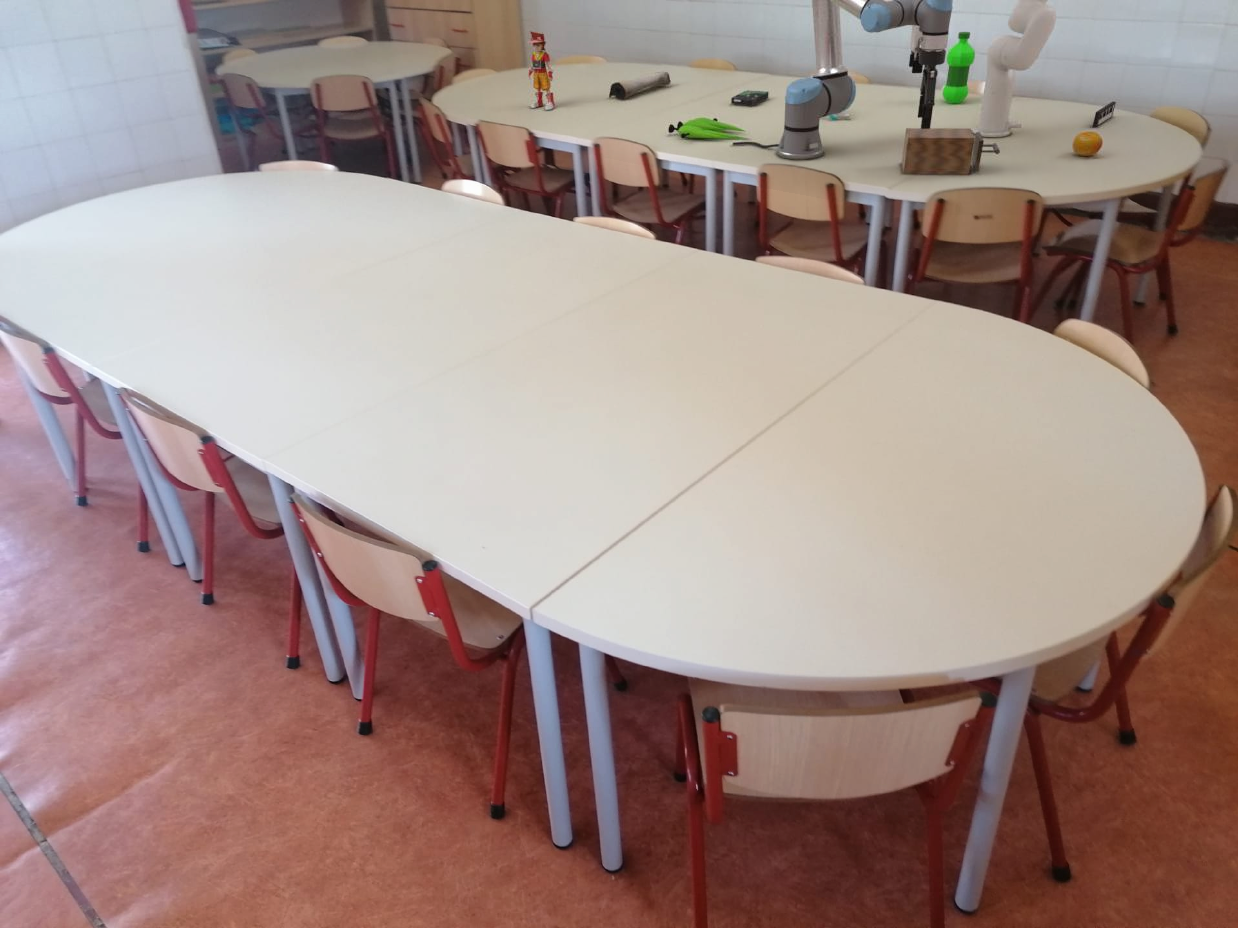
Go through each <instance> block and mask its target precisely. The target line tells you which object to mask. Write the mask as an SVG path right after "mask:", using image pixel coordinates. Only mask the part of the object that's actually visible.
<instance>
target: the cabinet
mask: <svg viewBox="0 0 1238 928" xmlns="http://www.w3.org/2000/svg"><path fill="white" fill-rule="evenodd" d="M972 131H973V130H972V128H971V127H970V128H969V127H968V128H966V127H965V128H963V127H962V128H961V127H959V128H955V127H954V128H953V127H948V128H947V127H946V128H945V127H944V128H941V127H939V128H938V127H935V128H933V127H932V128H931V127H930V129H921V127H919V128H916V127H915V128H911V127H910V128H909V127H908V128H907V127H906V128H905V134H904V142H903V150H902V156H901V157H902V158H901V169H902V173H903V174H904V175H969V174H970V169H971V164H972V163H971V158H972V153H973V147H974V146H973V145H974V141H975V134H974V133H973V132H972Z"/></svg>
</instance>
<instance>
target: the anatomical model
mask: <svg viewBox="0 0 1238 928" xmlns="http://www.w3.org/2000/svg"><path fill="white" fill-rule="evenodd" d="M828 117H829V119H831V120H832V121H835V120H838V119H848V118H850V117H851V114H850V113H845V111H842V112H841V113H839V114H833V115H829V116H828Z"/></svg>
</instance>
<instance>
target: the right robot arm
mask: <svg viewBox="0 0 1238 928" xmlns="http://www.w3.org/2000/svg"><path fill="white" fill-rule="evenodd" d="M1048 1H1049V0H1017V2H1016V4H1015V5H1014V8H1013V9H1012V11H1011V13H1010V15H1009V17H1008V21H1007V25H1008V29H1010V30H1011V31H1012V32H1013V33H1018V34H1021V37H1020V36H1015V35H1011V34H1002V35H998V36H996V37H995V38H994V39H992V41H991V42H990V44H989V45H988V48H987V53H986V76H985V81H984V82H985V83H984V88H983V96H982V100H981V106H980V110H979V111H980V112H979V117H978V123H977V126H974V127H973V128H972V130H971V131H972V133H973V135H976V132H980V133H981V136H982V137H983V138H984V137H986V138H1002V137H1007V136H1009V135H1010V134H1011V130H1012V129H1021V128H1022V123H1023V122H1022V121H1021V122H1020V121H1019V122H1017V121H1015V120H1013V121H1010V119H1009V117H1010V110H1011V106H1012V100H1013V95H1014V91H1015V90H1014V89H1015V85H1016V77H1017V76H1016V71H1018V72H1020V71H1021V72H1023V71H1026V70H1028V69H1030V67H1032V66H1033V65H1034V63H1035V62H1036V61H1037V59H1038V57H1039V56H1040V55H1041V52H1042V50H1043V48H1044V47H1045V45H1046V43H1047V41H1048V39H1049V38H1050V36H1051V34H1052V33H1053V31H1054V28H1055V25H1056V22H1057V14H1056V11H1055V9H1054V7H1052V6H1051V5H1049V4H1048V3H1047V2H1048ZM922 30H923V26H915V25H911V33H910V34H911V35H910V45H909V46H910V49H911V50H910V54H909V61H908V67H909V68H911V74H923V69H924V65H922V64H920V63H919V55H920V51H921V50H922V49H921V42H922V41H919V39H920V38H921V37H923V36H922Z"/></svg>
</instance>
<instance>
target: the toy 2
mask: <svg viewBox="0 0 1238 928" xmlns="http://www.w3.org/2000/svg"><path fill="white" fill-rule="evenodd" d="M667 131H668V133H669V134H672V133H674V132H675V131H678V134H679V135H680V138H681V139H686V138H691V139H716V140H717V139H718V140H719V139H720V140H721V139H722V140H723V139H725V140H726V139H727V140H728V139H746V140H747V139H749V137H744V136H739V135H735V134H734V135H733V134H729V133H724V131H736V132H746V130H745V129H742V128H740V127H737V126H736V125H735V126H734V125H731V124H729V123H724V122H720V121H718V119H717V118H716V117H714V118H712V119H710V118H708V117H695V118H694V119H691V120H690V119H689V120H687V121H686V122H682V121H678V122H677V125H676V126H675V125H674V124H672V123H670V124H669V126H668V130H667Z"/></svg>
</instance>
